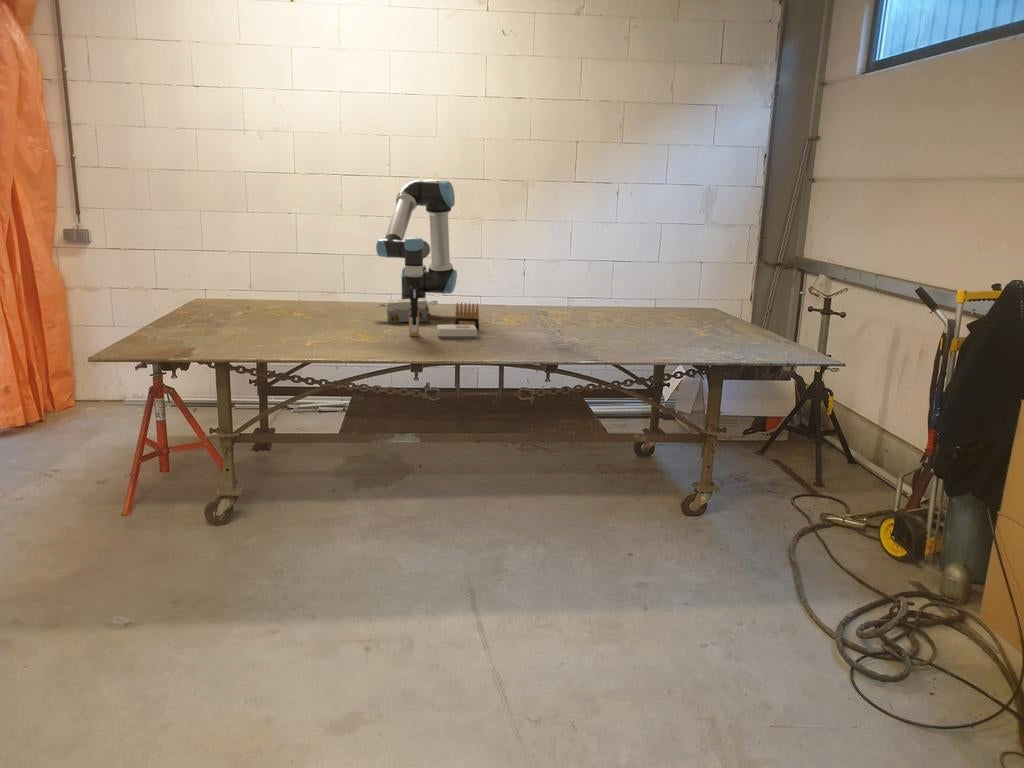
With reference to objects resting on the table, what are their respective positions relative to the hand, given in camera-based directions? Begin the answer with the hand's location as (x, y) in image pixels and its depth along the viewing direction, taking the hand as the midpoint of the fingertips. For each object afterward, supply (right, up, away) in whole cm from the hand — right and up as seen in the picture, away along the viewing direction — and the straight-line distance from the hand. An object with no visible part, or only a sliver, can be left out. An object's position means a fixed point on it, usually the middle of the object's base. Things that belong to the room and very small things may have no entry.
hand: (413, 330), depth 317 cm
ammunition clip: (+21, +2, +17) cm, 27 cm away
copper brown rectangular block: (0, -2, 0) cm, 2 cm away
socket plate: (+18, -2, +1) cm, 18 cm away
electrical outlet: (-7, +7, +31) cm, 33 cm away
